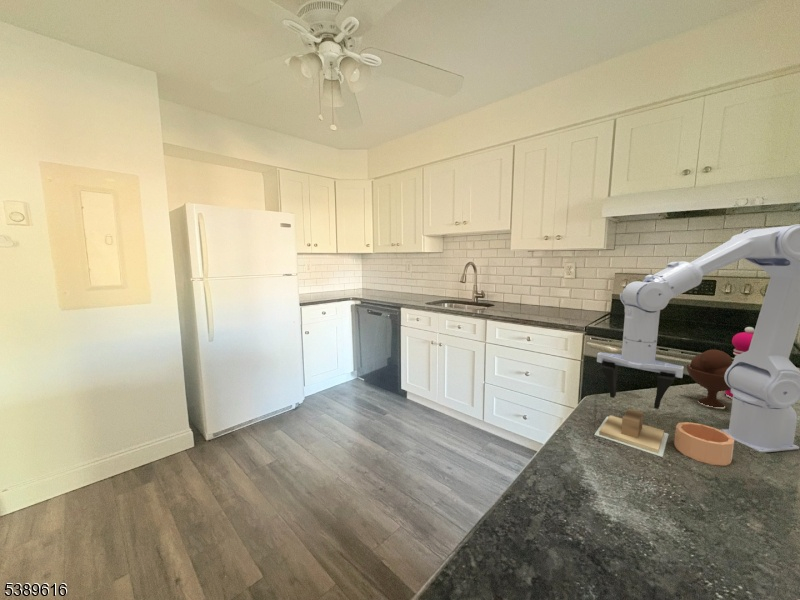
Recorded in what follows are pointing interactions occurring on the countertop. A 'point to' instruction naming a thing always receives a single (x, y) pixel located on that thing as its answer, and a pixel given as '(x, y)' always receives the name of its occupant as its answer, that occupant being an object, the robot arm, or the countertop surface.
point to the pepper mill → (741, 345)
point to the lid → (633, 431)
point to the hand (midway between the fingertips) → (634, 401)
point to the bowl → (704, 443)
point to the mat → (660, 453)
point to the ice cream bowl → (710, 374)
